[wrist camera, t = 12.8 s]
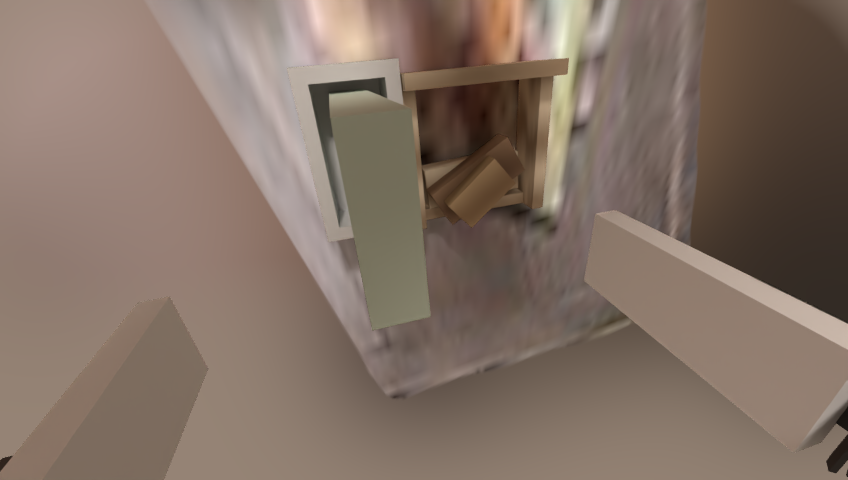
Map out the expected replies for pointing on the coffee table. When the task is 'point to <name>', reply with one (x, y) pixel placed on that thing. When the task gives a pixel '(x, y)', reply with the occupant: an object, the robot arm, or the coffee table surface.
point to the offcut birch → (440, 169)
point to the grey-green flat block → (382, 203)
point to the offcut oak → (480, 191)
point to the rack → (529, 123)
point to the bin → (317, 129)
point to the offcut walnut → (448, 183)
